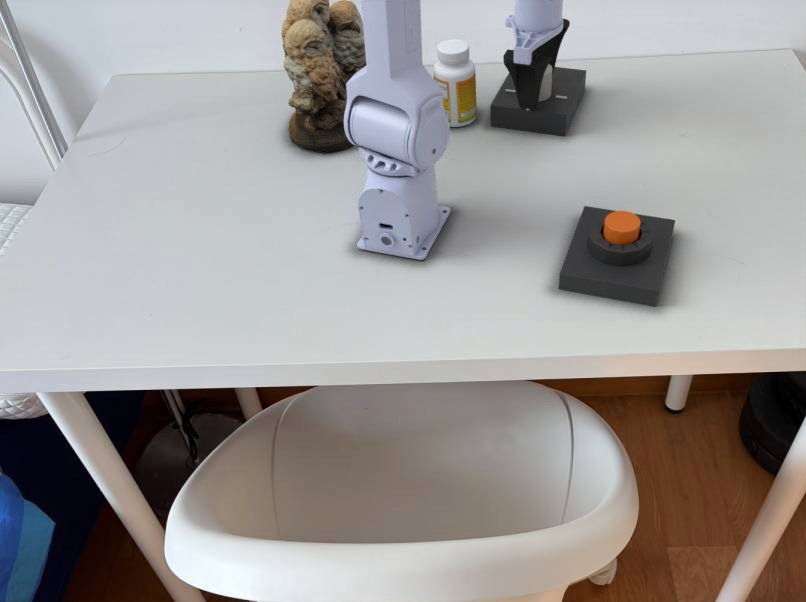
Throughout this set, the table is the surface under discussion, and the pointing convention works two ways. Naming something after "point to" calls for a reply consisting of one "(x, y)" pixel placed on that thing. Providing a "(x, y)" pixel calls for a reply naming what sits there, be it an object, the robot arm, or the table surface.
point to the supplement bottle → (456, 81)
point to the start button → (621, 227)
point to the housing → (617, 259)
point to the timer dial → (546, 84)
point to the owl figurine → (321, 69)
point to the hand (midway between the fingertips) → (535, 92)
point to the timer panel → (541, 105)
